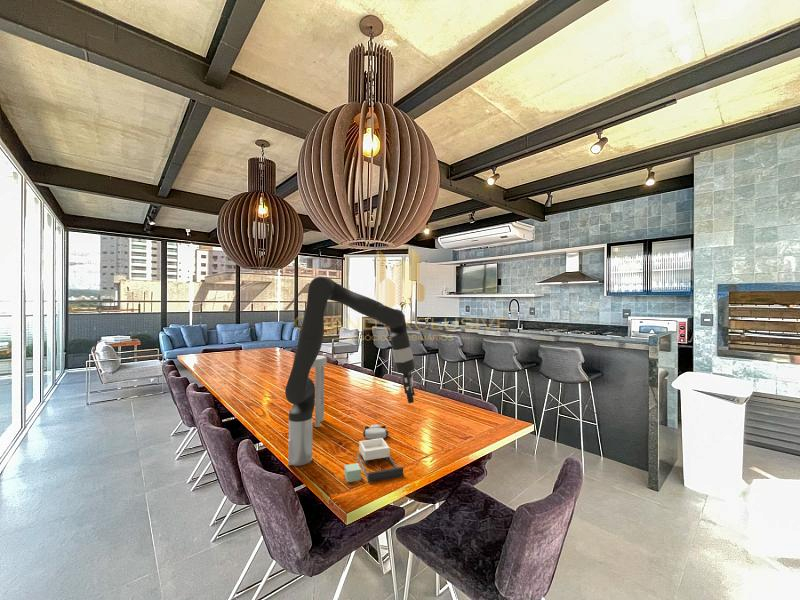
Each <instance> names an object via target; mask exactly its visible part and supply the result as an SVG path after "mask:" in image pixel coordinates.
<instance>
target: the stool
mask: <svg viewBox="0 0 800 600" xmlns="http://www.w3.org/2000/svg"><path fill="white" fill-rule="evenodd" d="M327 361H328V358H327V356H326V355H319V354H318V356H317V358H316V360H315V361H314V363H313V365H312V367H311V369H312V368H313V369H315V370H314V371H315V372H314V374H315V375H314V376H315V378H314V386H315V405H314V428H315V427H320V428H321V422H324V421H325V414H324V413H325V366H326V365H327V363H328V362H327Z"/></svg>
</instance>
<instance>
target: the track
mask: <svg viewBox="0 0 800 600" xmlns="http://www.w3.org/2000/svg"><path fill="white" fill-rule="evenodd" d="M355 455H356V458H357V459H358V460H357V461H358V463H359V466H360V468H361V470H363V473H364V475H365V478H366V480H367V483H372V482H379V481H384V480H389V479H390V480H391V479H397V478H401V477H404V467H403V466H399V467H398V466H397V464H396V463H395V461H394V460H393V457H391V456H390V457H388V461H390V463H391V464H392V465H393V468H388V469H380V470H376V471H369V472H368V471H367V469H366V467H365V464H364V462H363V461H362V458H361V455H359V453H355Z"/></svg>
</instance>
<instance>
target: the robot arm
mask: <svg viewBox="0 0 800 600" xmlns="http://www.w3.org/2000/svg"><path fill="white" fill-rule="evenodd" d="M306 299H307V300H306V307H305V312H304V316H303V320H302V323H301V327H300V328H301V329H300V331H299V336H298V340H297V346H296V351H295V355H294V358H293V364H292V368H291V371H290V374H289V375H288V376H289V377H288V380H287V383H286V386H285V390H284V391H285V392H284V393H285V394H284V395H285V399H286V400H287V401H288V403H290V404H292V407H291V409H289V412H288V466H297V467H298V466H300V467H301V466H305V465H308V464H310V463H311V462H312V460H313V413H314V411H315V382H314V380H313V379H312V378H311V377H309V376H310V372H311V369H312V368H311V367H312V365H313V363H314V361H315V360H316V358H317V356H318V355H319V354H320V351H321V348H322V345H323V339H324V336H325V335H324V334H325V319H324V318H325V310H326V307H327V303H328V301H332V302H337V303H340V304H342V305H345V306H346V307H348V308H349V309H351V310H354V311H355V312H357V313H359V314H362V316H366V317H368V318H371V319H373V320H376V321H378V322H380V323H381V324H383V325H385V326H388V327H389V331H390V336H391V337H390V342H391V347H392V355H393V361H394V365H395V370H396V373H398V374H402V375H401V376H402V377H401V380H402V383H403V389H404V393H405V394H406V399H407V403H408V404H413V403H414V402H415V400H414V396H415V395H416V394H415V389H414V378H413V377H414V376H413V373H412V372H413V371H414V370H415V369H416V366H415V360H414V355H413V351H412V348H411V344H410V339H409V336H408V330H407V322H406V316H405V314H404V312H403V311H402V310H401V309H398V308H397V309H395V308H392V307H389V306H387V305H384V304H383V303H382V302H380V301H378V300H375V299H373V298H371V297H368V296H365V295H363V294H359V293H357V292H354V291H352V290H350V289H348V288H346V287H344V286H342V285H340V284H338V283H337V282H336V281H334V280H332V279H331V278H330V277H327V276H316V277H313V279H312V280H311V281H310V283H309V285H308V289H307V298H306Z"/></svg>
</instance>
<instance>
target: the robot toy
mask: <svg viewBox="0 0 800 600" xmlns="http://www.w3.org/2000/svg"><path fill="white" fill-rule="evenodd" d="M363 429H364V430H363V432H362V436H363V437H364V438H365V440H372V439H379V438H383V439H386V438H387V436H388V434H389V431H388V430H387V426H386V425H380V424H371V425H370V426H367V425H366V426H363Z"/></svg>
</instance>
